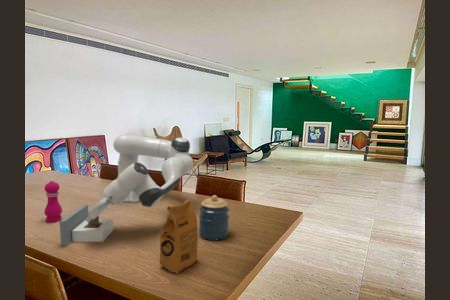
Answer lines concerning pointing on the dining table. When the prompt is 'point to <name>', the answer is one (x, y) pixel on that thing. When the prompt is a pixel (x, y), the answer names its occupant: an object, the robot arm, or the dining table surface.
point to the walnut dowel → (94, 222)
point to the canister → (213, 218)
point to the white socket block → (92, 231)
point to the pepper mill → (52, 202)
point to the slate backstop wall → (72, 224)
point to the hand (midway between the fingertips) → (92, 216)
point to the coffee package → (179, 238)
